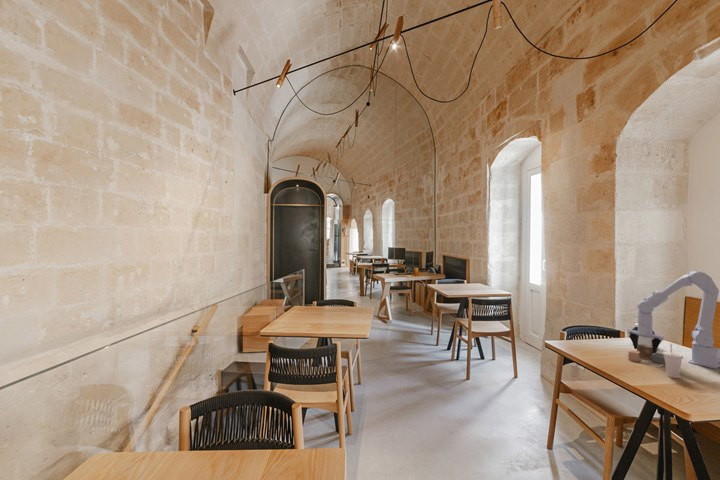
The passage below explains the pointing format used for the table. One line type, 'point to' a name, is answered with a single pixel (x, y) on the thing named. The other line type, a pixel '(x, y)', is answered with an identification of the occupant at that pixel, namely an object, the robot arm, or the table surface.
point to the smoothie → (672, 363)
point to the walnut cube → (645, 350)
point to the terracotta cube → (634, 355)
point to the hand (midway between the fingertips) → (645, 350)
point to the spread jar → (643, 339)
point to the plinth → (658, 358)
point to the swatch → (652, 363)
